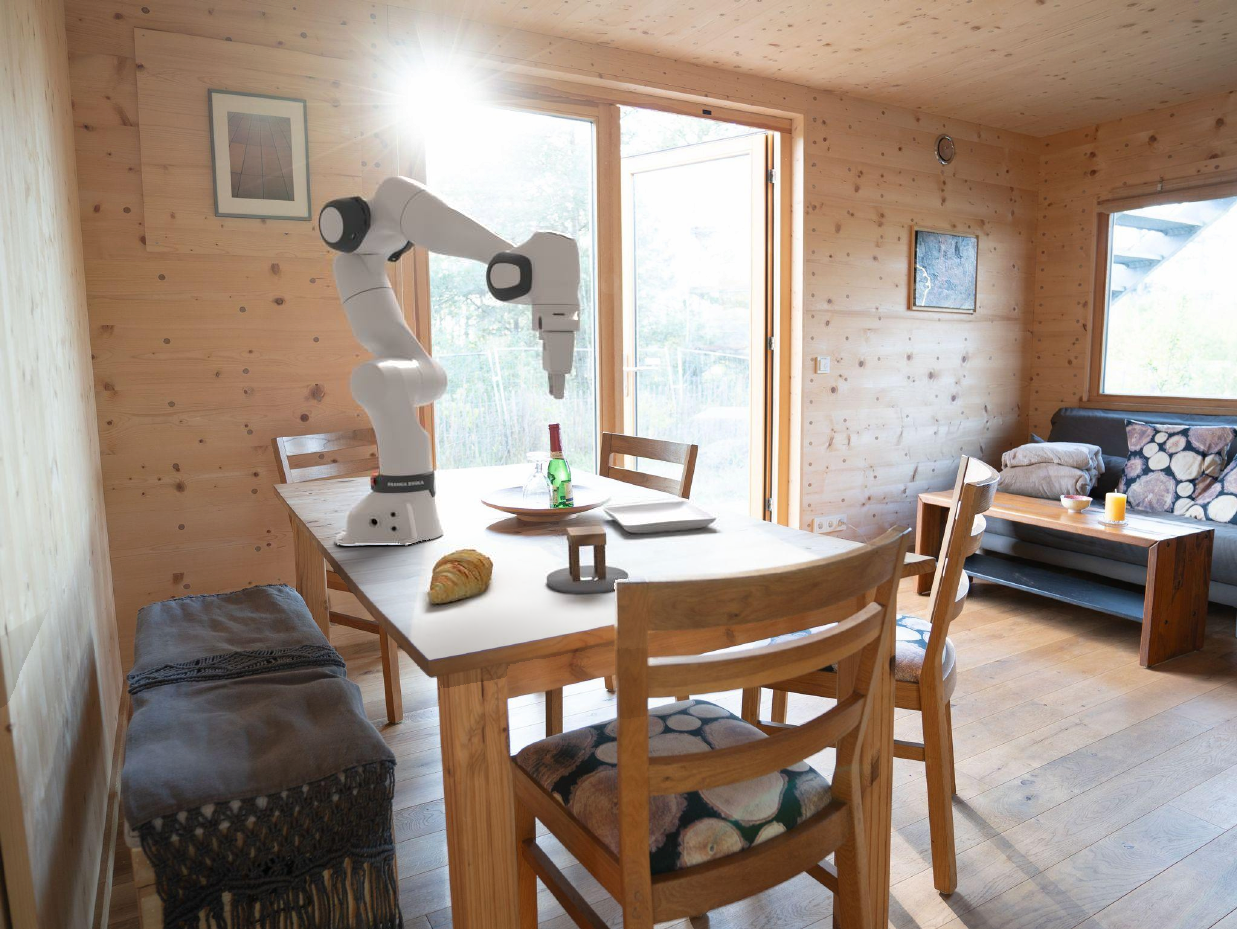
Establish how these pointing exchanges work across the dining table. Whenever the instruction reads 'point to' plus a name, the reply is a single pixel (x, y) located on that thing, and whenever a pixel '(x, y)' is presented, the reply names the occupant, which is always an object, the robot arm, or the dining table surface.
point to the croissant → (460, 576)
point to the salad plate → (660, 517)
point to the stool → (586, 538)
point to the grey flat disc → (585, 580)
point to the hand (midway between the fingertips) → (556, 397)
